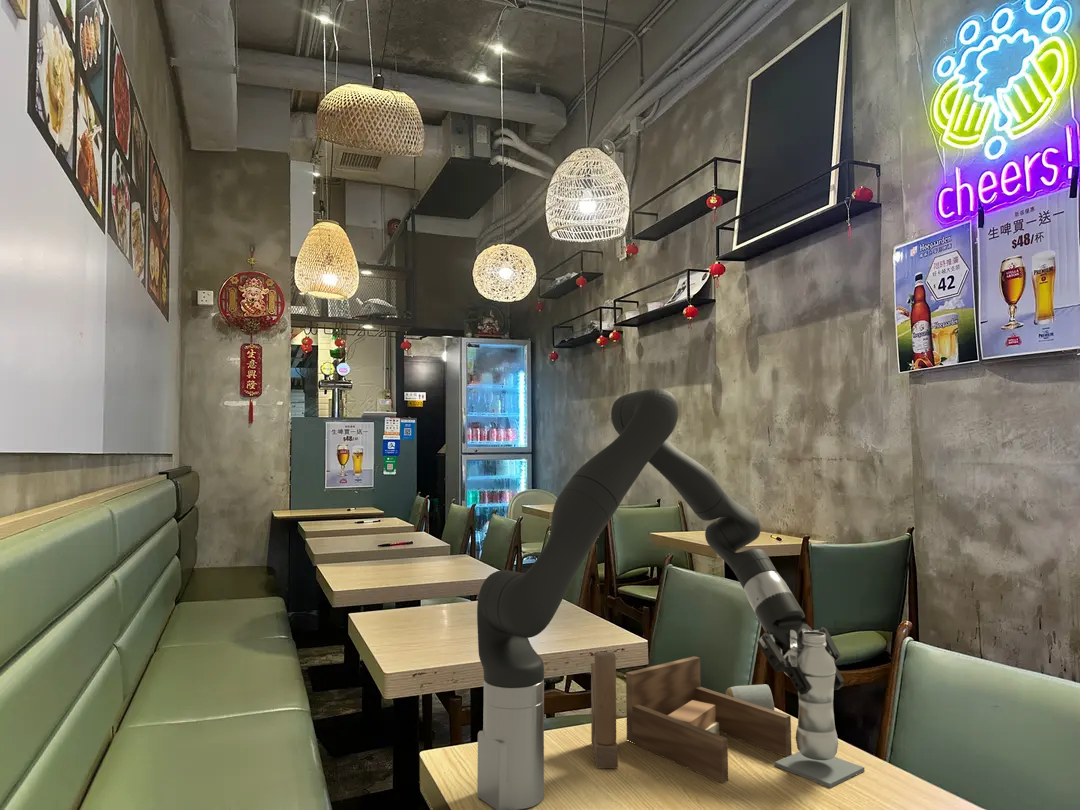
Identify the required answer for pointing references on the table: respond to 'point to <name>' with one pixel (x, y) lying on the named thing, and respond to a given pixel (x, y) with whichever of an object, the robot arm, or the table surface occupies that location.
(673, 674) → the walnut rack
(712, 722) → the tan rectangular block
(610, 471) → the robot arm
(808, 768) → the slate mat
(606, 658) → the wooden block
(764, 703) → the ceramic mug
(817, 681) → the silver bottle
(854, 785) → the table surface
